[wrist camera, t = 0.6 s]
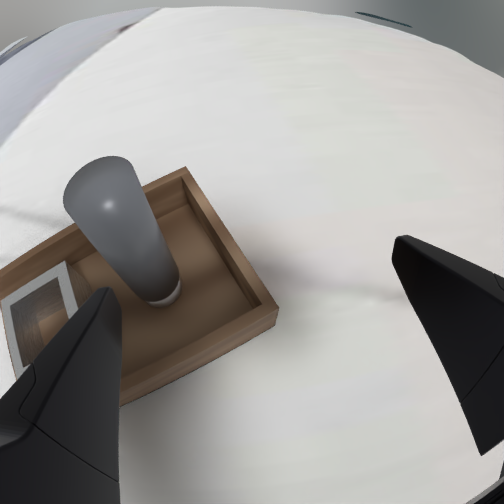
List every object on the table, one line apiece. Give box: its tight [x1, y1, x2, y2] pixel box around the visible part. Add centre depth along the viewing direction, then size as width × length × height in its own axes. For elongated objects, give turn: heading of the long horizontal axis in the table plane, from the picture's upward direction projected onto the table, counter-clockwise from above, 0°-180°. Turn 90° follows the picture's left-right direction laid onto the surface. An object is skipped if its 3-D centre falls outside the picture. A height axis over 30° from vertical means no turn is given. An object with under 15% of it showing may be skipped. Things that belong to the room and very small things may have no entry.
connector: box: [63, 156, 182, 308], centre depth 19 cm, size 4×4×13 cm
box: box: [0, 166, 279, 407], centre depth 22 cm, size 15×23×4 cm, turn 121°
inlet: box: [1, 261, 92, 380], centre depth 21 cm, size 8×8×4 cm
